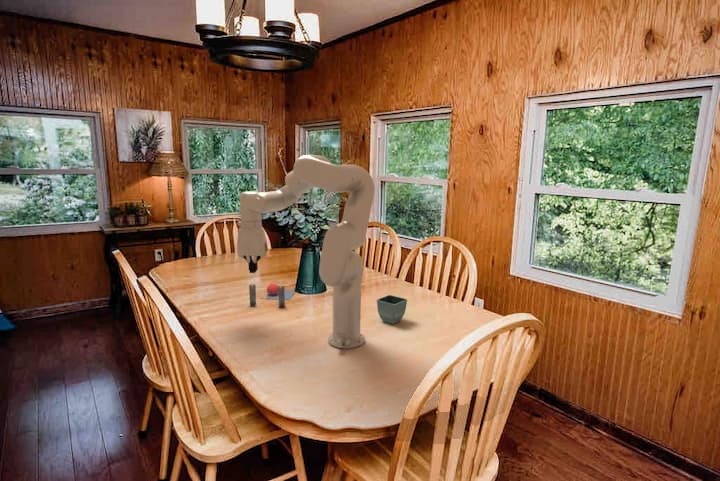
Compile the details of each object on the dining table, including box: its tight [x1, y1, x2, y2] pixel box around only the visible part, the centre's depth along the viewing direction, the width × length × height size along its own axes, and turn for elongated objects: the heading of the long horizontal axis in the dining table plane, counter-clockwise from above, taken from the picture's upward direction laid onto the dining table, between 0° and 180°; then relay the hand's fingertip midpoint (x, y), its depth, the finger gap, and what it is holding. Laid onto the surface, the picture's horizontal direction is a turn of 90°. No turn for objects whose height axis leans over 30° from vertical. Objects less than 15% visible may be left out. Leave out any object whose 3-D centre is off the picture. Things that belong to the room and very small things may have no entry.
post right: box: [278, 285, 286, 309], centre depth 174 cm, size 3×3×9 cm
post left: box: [248, 284, 257, 307], centre depth 175 cm, size 3×3×9 cm
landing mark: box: [265, 288, 296, 301], centre depth 191 cm, size 14×14×1 cm
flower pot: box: [376, 294, 408, 325], centre depth 160 cm, size 9×9×9 cm
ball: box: [266, 283, 279, 295], centre depth 189 cm, size 6×6×6 cm
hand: (253, 272), depth 157 cm, fingers closed
